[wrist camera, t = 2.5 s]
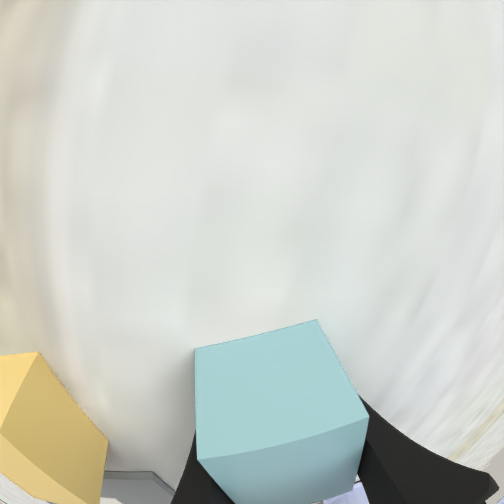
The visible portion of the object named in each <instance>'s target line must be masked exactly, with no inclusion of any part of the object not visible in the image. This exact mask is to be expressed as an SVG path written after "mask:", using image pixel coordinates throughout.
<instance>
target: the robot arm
mask: <svg viewBox="0 0 504 504" xmlns="http://www.w3.org/2000/svg"><path fill="white" fill-rule="evenodd" d="M358 396H359V395H358ZM359 398H360V400H361V401H362V403H363V405H364V407H365V409H366V411H367V413H368V415H369V421H368V427H367V432H366V437H365V441H364V446H363V451H362V455H361V459H360V463H359V467H358V471H357V474H358V476H359V478H360V481H361V482H359V483H356V484H354V486H353V490H352V491H350V492H348V493H345V494H342V495H339V496H336V497H333V498H329V499H326V500H323V504H486V502H485V500H487V499H488V498H489V497H491V496H492V495H493V494H494V493H496V492H497V491H498V490H499V486H498V485H497V483H496V482H495V480H494V479H493V478H492V477H491V476H490V475H489V474H488V473H486V472H482V471H478V470H475V469H472V468H468V467H466V466H463V465H460V464H457V463H455V462H452V461H450V460H448V459H446V458H444V457H441V456H439V455H437V454H435V453H433V452H431V451H429V450H428V449H426V448H424V447H422V446H421V445H419V444H417V443H416V442H414V441H413V440H411V439H410V438H408V437H407V436H405V435H404V434H403V433H401V432H400V431H399V430H397V429H396V428H395V427H393V426H392V425H391V424H390V423H388V422H387V421H386V420H385V419H384V418H382V417H381V416H380V415H379V414H378V413H377V412H376V411H375V410H373V409H372V408H371V407H370V406H369V405H368V404H367V403H366V402H365V401H364V400H363V399H362V398H361V397H360V396H359ZM170 504H235V503H234V502H233V501H232V500H231V499H230V497H229V496H228V495H227V494H226V493H225V492H224V491H223V490H222V489H221V487H220V486H219V485H218V484H217V483H216V482H215V480H214V479H213V478H212V477H211V476H210V475H209V473H208V472H207V471H206V470H205V469H204V467H203V466H202V465H201V464H200V462H199V461H198V460H197V443H196V430H195V435H194V439H193V443H192V447H191V450H190V454H189V457H188V460H187V463H186V466H185V469H184V472H183V475H182V478H181V480H180V483H179V485H178V488H177V490H176V492H175V495H174V497H173V499H172V501H171V503H170ZM496 504H504V497H502V498H501V499H500V500H499V501H497V503H496Z"/></svg>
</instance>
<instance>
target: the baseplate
mask: <svg viewBox="0 0 504 504" xmlns="http://www.w3.org/2000/svg"><path fill="white" fill-rule="evenodd" d="M174 495H175V491H173V490H172V489H171V488H170V487H169V486H168V485H166V484H165V483H164V482H163V481H162V480H161V479H160V478H159V477H157V476H156V475H155V474H154V473H153V472H107V471H104V475H103V482H102V489H101V497H100V504H170V503H171V501H172V499H173V497H174ZM47 502H48V503H50V504H57V503H53V502H49V501H47Z"/></svg>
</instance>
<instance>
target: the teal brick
mask: <svg viewBox="0 0 504 504" xmlns="http://www.w3.org/2000/svg"><path fill="white" fill-rule="evenodd" d="M195 412H196V443H197V460H198V461H199V462H200V464H201V465H202V466H203V467H204V469H205V470H206V471H207V472H208V473H209V475H210V476H211V477H212V478H213V479H214V480H215V482H216V483H217V484H218V485H219V486H220V487H221V489H222V490H223V491H224V492H225V493H226V494H227V495H228V496H229V497H230V499H231V500H232V501H233V502H234V503H235V504H312V503H316V502H320V501H323V500H326V499H329V498H333V497H336V496H339V495H342V494H345V493H348V492H350V491H352V490H353V486H354V483H355V479H356V475H357V471H358V467H359V463H360V459H361V455H362V451H363V446H364V441H365V437H366V432H367V427H368V421H369V415H368V413H367V411H366V409H365V407H364V405H363V403H362V401H361V400H360V398H359V396H358V394H357V392H356V390H355V388H354V387H353V385H352V383H351V381H350V379H349V377H348V376H347V374H346V372H345V370H344V368H343V366H342V365H341V363H340V361H339V359H338V357H337V356H336V354H335V352H334V350H333V348H332V346H331V345H330V343H329V341H328V339H327V337H326V336H325V334H324V332H323V330H322V329H321V327H320V325H319V323H318V321H317V320H313V321H309V322H305V323H302V324H298V325H294V326H291V327H287V328H283V329H279V330H275V331H271V332H267V333H263V334H259V335H255V336H251V337H247V338H243V339H238V340H234V341H229V342H225V343H220V344H216V345H211V346H206V347H201V348H196V349H195Z"/></svg>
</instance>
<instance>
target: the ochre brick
mask: <svg viewBox="0 0 504 504" xmlns="http://www.w3.org/2000/svg"><path fill="white" fill-rule="evenodd" d="M108 444H109V440H108V439H107V438H106V437H105V436H104V435H103V434H102V432H101V431H100V430H99V429H98V428H97V427H96V426H95V425H94V424H93V422H92V421H91V420H90V419H89V418H88V417H87V416H86V414H85V413H84V412H83V411H82V410H81V408H80V407H79V406H78V405H77V403H76V402H75V401H74V400H73V398H72V397H71V396H70V395H69V393H68V392H67V391H66V389H65V388H64V387H63V385H62V384H61V383H60V381H59V380H58V379H57V377H56V376H55V374H54V373H53V372H52V370H51V369H50V367H49V366H48V364H47V363H46V361H45V360H44V358H43V357H42V355H41V354H40V352H39V351H38V352H30V353H21V354H12V355H2V356H0V473H1V474H3V475H4V476H5V477H6V478H8V479H9V480H10V481H12V482H13V483H14V484H15V485H17V486H18V487H20V488H21V489H22V490H24V491H25V492H26V493H28V494H29V495H31V496H32V497H34V498H37V499H41V500H44V501H49V502H53V503H57V504H100V497H101V489H102V482H103V475H104V468H105V462H106V456H107V450H108Z"/></svg>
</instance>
